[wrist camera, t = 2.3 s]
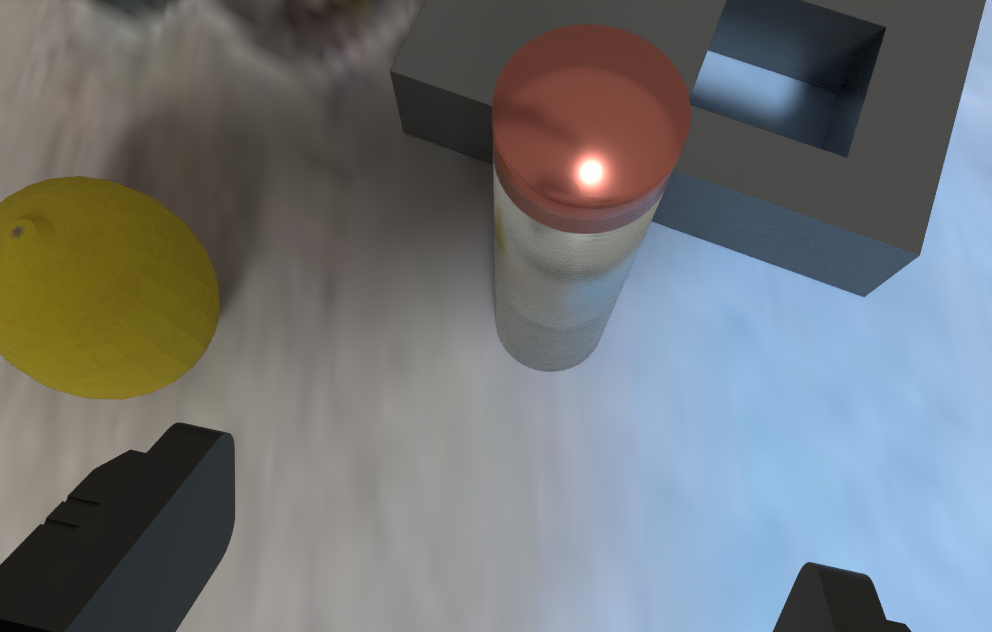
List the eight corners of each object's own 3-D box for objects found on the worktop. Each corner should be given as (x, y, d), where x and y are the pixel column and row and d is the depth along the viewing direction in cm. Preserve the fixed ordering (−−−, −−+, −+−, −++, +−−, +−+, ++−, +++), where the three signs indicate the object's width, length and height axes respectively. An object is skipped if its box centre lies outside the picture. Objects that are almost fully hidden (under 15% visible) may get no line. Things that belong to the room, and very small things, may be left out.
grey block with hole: (403, 132, 27) (390, 70, 24) (503, -70, 30) (504, -151, 26) (864, 297, 25) (919, 255, 22) (928, 66, 28) (986, -3, 24)
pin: (479, 348, 25) (461, 156, 13) (519, 254, 26) (534, 0, 14) (581, 387, 24) (654, 226, 13) (618, 290, 25) (716, 60, 14)
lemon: (164, 222, 26) (26, 78, 18) (290, 320, 25) (197, 210, 17) (39, 351, 25) (-166, 254, 17) (165, 460, 24) (8, 408, 16)
